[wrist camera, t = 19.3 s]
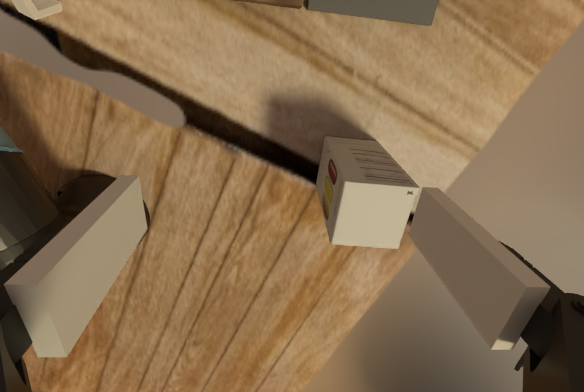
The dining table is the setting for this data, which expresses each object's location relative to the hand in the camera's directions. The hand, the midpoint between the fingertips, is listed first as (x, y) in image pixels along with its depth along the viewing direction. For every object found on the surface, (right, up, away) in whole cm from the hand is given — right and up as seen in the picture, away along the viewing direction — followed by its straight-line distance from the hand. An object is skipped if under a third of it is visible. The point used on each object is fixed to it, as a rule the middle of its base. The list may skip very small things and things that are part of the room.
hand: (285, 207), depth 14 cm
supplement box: (+9, +6, +37) cm, 39 cm away
